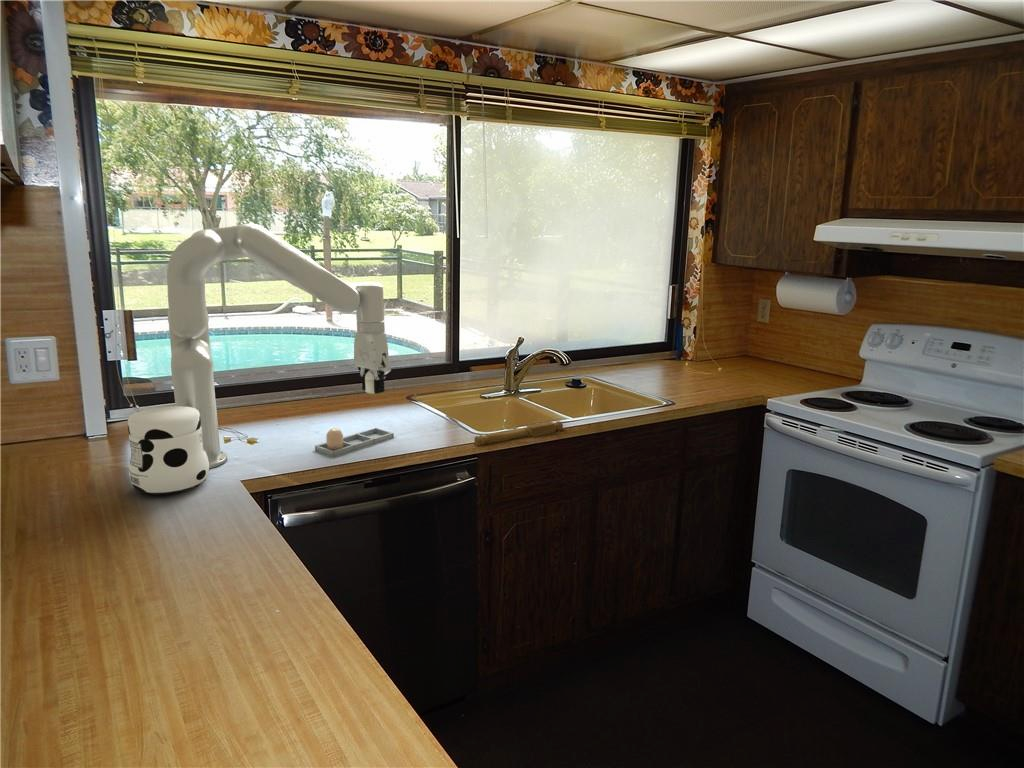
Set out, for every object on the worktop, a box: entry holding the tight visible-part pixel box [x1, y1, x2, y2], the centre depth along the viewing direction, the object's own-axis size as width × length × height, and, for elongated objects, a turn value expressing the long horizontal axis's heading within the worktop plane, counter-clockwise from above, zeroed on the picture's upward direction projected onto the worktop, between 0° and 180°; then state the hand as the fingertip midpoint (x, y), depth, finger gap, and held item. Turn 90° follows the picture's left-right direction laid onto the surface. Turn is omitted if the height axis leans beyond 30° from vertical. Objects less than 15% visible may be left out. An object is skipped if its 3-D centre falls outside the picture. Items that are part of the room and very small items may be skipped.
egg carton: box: [312, 427, 398, 459], centre depth 202 cm, size 23×9×2 cm, turn 141°
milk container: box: [127, 405, 210, 496], centre depth 172 cm, size 17×17×18 cm
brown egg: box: [325, 427, 344, 451], centre depth 196 cm, size 4×4×6 cm
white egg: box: [365, 370, 376, 395], centre depth 204 cm, size 4×4×6 cm
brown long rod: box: [473, 420, 564, 447], centre depth 213 cm, size 3×3×30 cm
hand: (373, 390), depth 204 cm, fingers closed on white egg, 4 cm apart
